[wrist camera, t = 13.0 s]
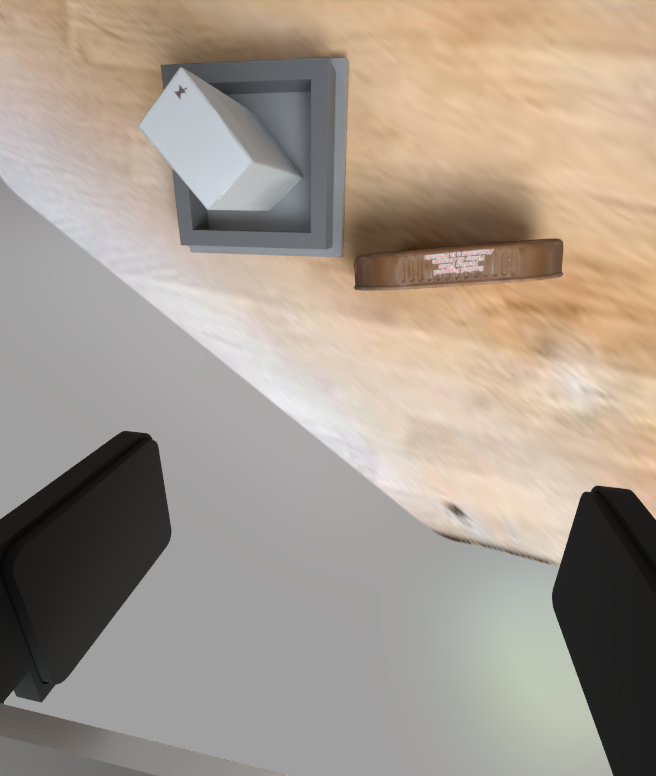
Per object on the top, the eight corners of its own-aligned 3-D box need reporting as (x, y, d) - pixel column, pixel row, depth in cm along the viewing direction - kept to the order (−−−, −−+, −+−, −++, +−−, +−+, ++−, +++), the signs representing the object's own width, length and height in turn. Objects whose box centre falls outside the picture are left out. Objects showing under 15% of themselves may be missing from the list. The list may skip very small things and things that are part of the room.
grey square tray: (348, 62, 31) (340, 41, 28) (343, 256, 37) (335, 260, 33) (177, 70, 34) (149, 52, 30) (195, 251, 39) (173, 254, 35)
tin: (361, 284, 37) (347, 301, 30) (358, 248, 36) (344, 255, 28) (542, 272, 34) (580, 287, 26) (546, 231, 33) (586, 235, 25)
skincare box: (222, 154, 34) (133, 123, 23) (257, 113, 33) (179, 60, 22) (269, 214, 35) (206, 212, 25) (306, 178, 34) (255, 158, 23)
